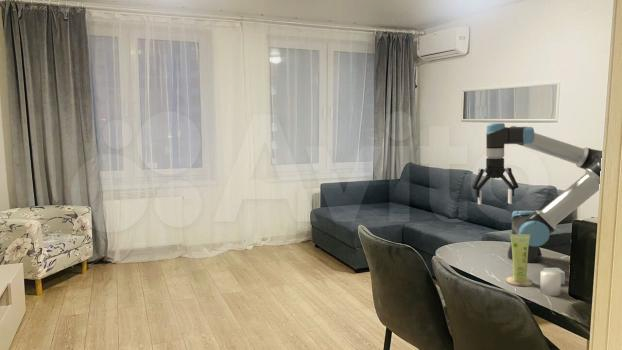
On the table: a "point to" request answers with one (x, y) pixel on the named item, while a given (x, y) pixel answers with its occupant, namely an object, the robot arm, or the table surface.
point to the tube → (520, 256)
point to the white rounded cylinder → (550, 282)
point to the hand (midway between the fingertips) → (494, 204)
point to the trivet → (511, 281)
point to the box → (558, 271)
